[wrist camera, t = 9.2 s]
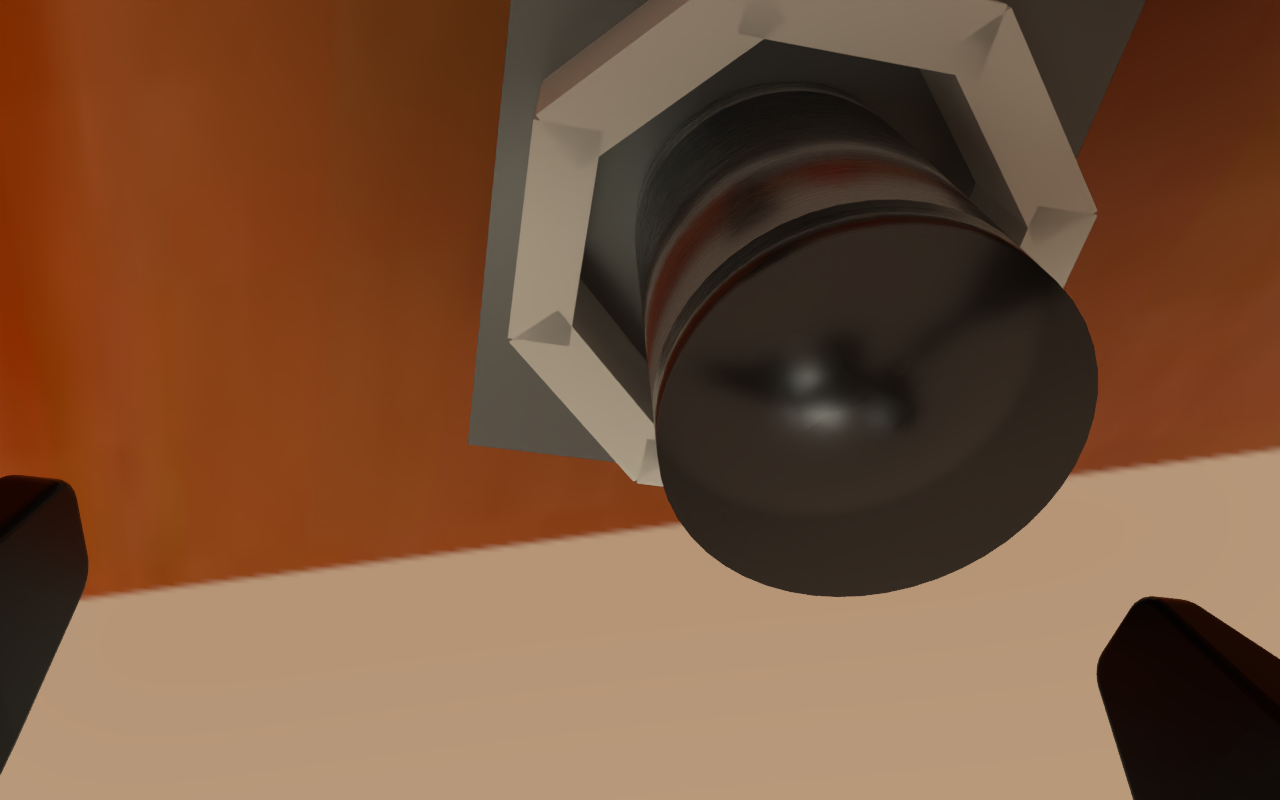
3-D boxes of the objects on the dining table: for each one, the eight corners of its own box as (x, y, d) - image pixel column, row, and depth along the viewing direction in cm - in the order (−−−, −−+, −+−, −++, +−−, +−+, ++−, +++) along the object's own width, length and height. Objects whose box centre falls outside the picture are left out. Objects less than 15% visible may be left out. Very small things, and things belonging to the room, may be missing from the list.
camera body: (1083, -211, 15) (1363, -244, 10) (865, 383, 21) (960, 569, 16) (561, -337, 14) (541, -455, 8) (491, 331, 20) (453, 513, 15)
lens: (777, 13, 13) (900, 124, 8) (974, 210, 14) (1184, 410, 9) (576, 246, 14) (566, 463, 9) (773, 397, 16) (857, 651, 11)
